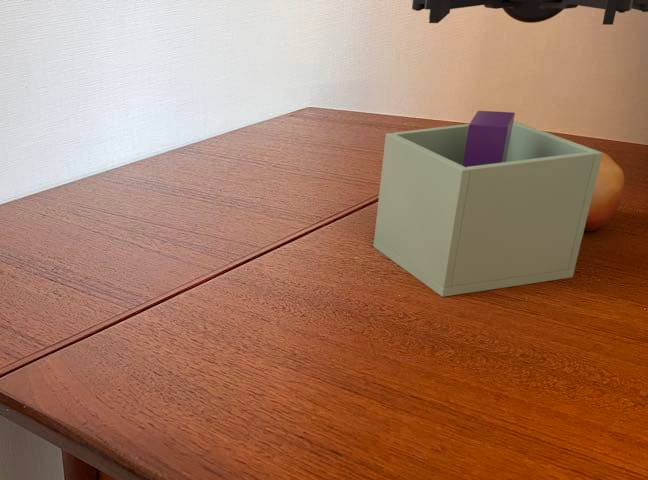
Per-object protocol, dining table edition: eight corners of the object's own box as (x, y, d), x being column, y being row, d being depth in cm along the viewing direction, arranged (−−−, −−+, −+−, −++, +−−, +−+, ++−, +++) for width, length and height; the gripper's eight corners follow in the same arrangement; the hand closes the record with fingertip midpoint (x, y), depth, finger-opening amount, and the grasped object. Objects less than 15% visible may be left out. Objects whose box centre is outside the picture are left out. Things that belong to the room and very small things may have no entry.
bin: (489, 230, 85) (509, 118, 79) (573, 277, 74) (603, 152, 69) (373, 246, 83) (385, 133, 77) (442, 297, 72) (462, 170, 67)
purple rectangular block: (447, 260, 77) (468, 124, 71) (456, 241, 81) (477, 110, 74) (482, 265, 76) (508, 126, 70) (490, 245, 79) (515, 112, 73)
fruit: (631, 200, 86) (640, 140, 79) (603, 260, 83) (610, 204, 77) (546, 188, 90) (547, 130, 84) (517, 245, 88) (517, 190, 82)
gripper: (671, 18, 85) (680, 57, 69) (410, 17, 95) (365, 50, 79) (694, -68, 81) (708, -48, 65) (419, -60, 91) (374, -41, 75)
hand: (520, 6), depth 72 cm, fingers open, 13 cm apart
